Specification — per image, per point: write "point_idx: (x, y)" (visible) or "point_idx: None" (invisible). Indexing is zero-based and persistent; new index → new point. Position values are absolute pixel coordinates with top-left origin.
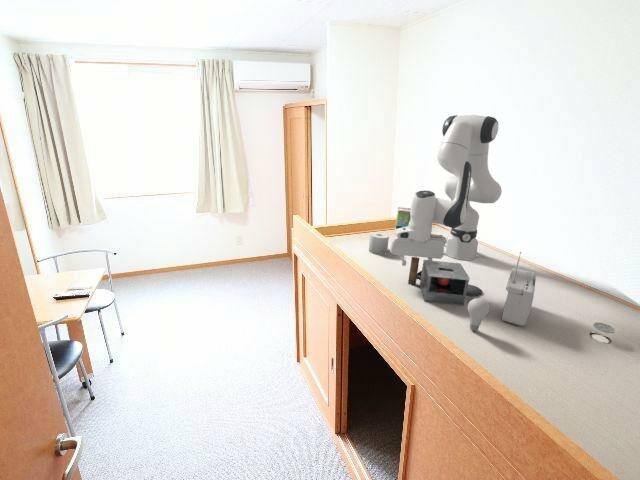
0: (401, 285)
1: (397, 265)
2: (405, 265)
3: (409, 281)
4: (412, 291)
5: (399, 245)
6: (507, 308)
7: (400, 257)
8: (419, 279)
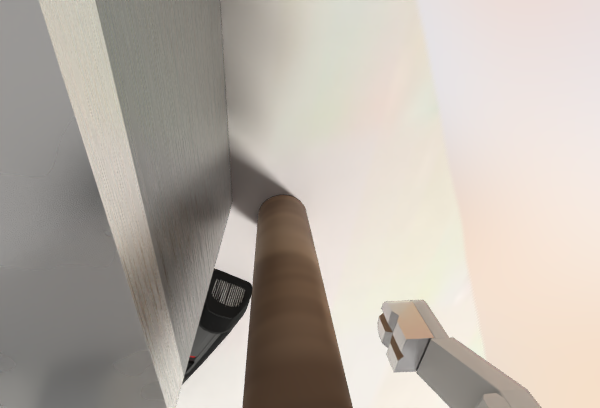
0: (358, 170)
1: None
2: (391, 303)
3: (304, 212)
4: (297, 82)
5: None
6: None
7: (527, 391)
8: (227, 275)
